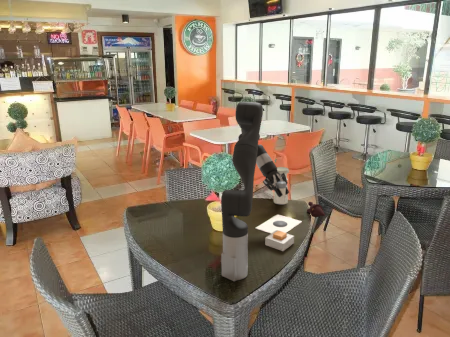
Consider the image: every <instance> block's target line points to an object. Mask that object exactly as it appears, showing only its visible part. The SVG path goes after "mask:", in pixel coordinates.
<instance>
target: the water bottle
mask: <svg viewBox="0 0 450 337" xmlns="http://www.w3.org/2000/svg"><path fill="white" fill-rule="evenodd" d="M277 160H278V158H277V157H275V158H274V160H273V162H274V164H275V165H276V163H277ZM276 167H277V171H278V172H279V173H280V174H283V173H284V174H285V176H286V179H287V181H289V179H288V177H287V176H288V174H289V173H290V168H288V167H284V166H276ZM279 182H280V181H279ZM284 182H285V181H284ZM286 187H287V189H288V184H286ZM288 190H289V189H288ZM273 191H274V190H273ZM273 194H274V195H273V203H274V204H276V205H278V204H277V194H276V192H275V191H274V193H273ZM288 194H289V193H288ZM288 194H287V195H285V204H284V205H287V204H288V203H289V201H288V198H289V197H288ZM280 205H283V204H280Z"/></svg>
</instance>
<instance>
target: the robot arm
mask: <svg viewBox="0 0 450 337" xmlns="http://www.w3.org/2000/svg"><path fill="white" fill-rule="evenodd" d="M235 107H236V108H235V121H236V124H238V126H239V128H240V131H241V134H239V135H238V138H237V139H238V140H237V141H236V142H235V144H234V146H233V147H234V148H233V151H232V157H231V158H232V160H231V161H232V165H233V167H234V169H235V170H236V172H237V173H238V175H239V177H240V179H241V181H242V184H243V187H244V189H243V190H242V189H224V190H223V191H222V193H221V196H220V197H221V198H220V209H221V210H220V211H221V225H222V252H221V256H220V257H221V259H220V260H221V263H220V264H221V277H224V278H226V279H228V280H230V281H233V282H236V281H241V280H243V279H245V278H246V277H247V276H248V275H249V274H248V273H249V272H248V271H249V270H248V269H249V264H248V261H249V260H248V259H249V256H248V255H249V250H248V249H249V226H248V224H247V223H246V222H245V221H243V220H241V219H239V218H237V217H248V216H250V215H251V213H252V209H253V199H254V197H253V196H254V180H255V173H256V172H255V171H256V166H257V168H258V169H259V171H260V173H261V174H262V176H263V177H264V178H265V179H264V180H262V184H264V186H265V187H267V189H269V190H270V191H275V192H276V194H277V195H278V196H279V197H281V196H282V195H283V194H282V193H281V191H280V189H279V188H278V186H277V182H279V181H283V182H284V181H285V182H286V184H287V185H288V180H287V179H288V178H287V179H286V176H285V174H284V173H283V174H280V173H279V172H278V171H277V167H278V166H277V165H276V163H275V161H274V160H273V159H272V157H271V156H270V155H269V154H268V152H267V151H266V149H265V147H264V145H263V144H259V140H260V138H261V135H260V132H261V126H262V120H263V116H264V115H263V113H264V107H263V105H262V103H260V102H255V101H254V102H252V101H239V102H237V104H236V106H235ZM274 163H275V164H274ZM287 187H288V186H287ZM287 187H286V192H285V195H287V194H289V193H290V191H289V189H287Z"/></svg>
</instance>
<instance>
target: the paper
mask: <svg viewBox="0 0 450 337" xmlns="http://www.w3.org/2000/svg"><path fill="white" fill-rule="evenodd" d="M302 222H303V221H302V220H300V219H299V220H298V219H296V218H295V219H294V218H291V217H289V216H284V215H281V214H279V213H278V214H276V215H274V216H272V217H271V218H269V219H268V220H266V221H264V222H262V223H261V224H259V225H258V226H256V227H255V229H256V230H259V231H261V232H263V233H264V232H265V233H267V234H269V235H270V234H271V233H273V232H274V231H276V230H277V231H281V232H284V233H287V234H288V232H290V231H292V230H293V229H295V228H296V227H297V226H298V225H300V224H302Z"/></svg>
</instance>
